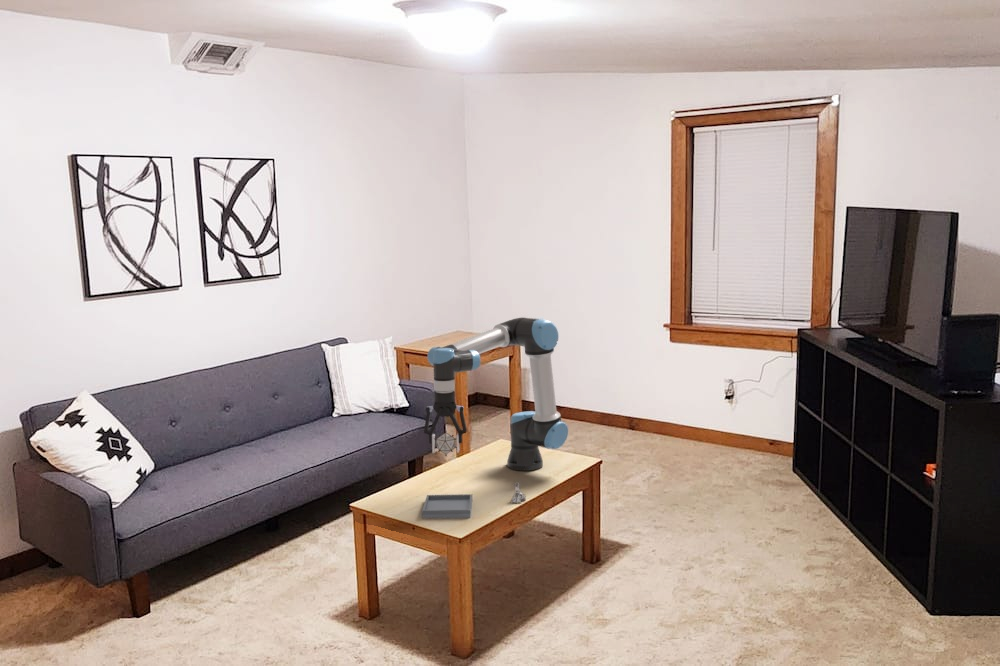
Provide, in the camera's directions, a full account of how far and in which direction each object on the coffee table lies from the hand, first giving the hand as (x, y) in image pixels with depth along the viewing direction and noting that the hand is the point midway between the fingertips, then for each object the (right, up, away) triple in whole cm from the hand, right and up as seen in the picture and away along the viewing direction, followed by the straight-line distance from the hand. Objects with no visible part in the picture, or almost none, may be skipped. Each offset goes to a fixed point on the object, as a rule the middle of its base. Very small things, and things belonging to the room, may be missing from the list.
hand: (446, 451), depth 303 cm
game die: (0, -2, 0) cm, 2 cm away
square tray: (+1, -22, +2) cm, 22 cm away
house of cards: (+29, -21, +9) cm, 36 cm away
